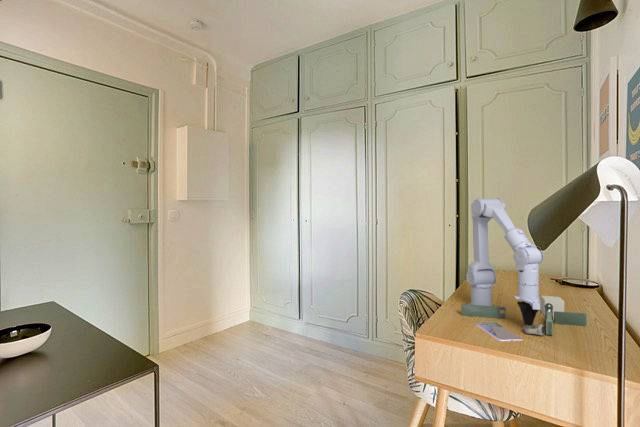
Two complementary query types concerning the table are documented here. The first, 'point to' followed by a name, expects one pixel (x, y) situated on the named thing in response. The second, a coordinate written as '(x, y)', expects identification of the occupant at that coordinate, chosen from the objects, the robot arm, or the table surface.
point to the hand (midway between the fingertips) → (528, 324)
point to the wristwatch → (535, 329)
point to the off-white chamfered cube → (555, 301)
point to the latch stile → (483, 311)
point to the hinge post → (566, 317)
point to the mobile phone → (498, 331)
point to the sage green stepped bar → (549, 323)
